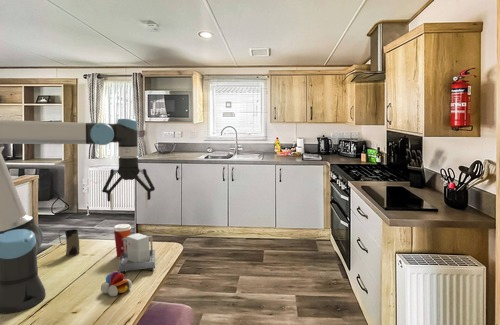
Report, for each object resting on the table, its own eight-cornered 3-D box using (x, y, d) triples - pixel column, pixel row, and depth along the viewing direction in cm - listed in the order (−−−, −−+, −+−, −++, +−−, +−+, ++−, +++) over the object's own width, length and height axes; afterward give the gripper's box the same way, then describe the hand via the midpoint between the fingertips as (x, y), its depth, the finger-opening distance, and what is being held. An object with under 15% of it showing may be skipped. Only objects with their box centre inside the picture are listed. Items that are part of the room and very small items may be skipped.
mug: (80, 251, 161) (78, 226, 160) (79, 255, 156) (78, 229, 154) (61, 253, 158) (59, 228, 156) (59, 257, 153) (58, 232, 151)
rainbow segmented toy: (115, 300, 116) (114, 279, 115) (97, 293, 121) (96, 273, 120) (135, 289, 123) (134, 270, 122) (117, 283, 128) (116, 265, 127)
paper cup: (126, 259, 151) (125, 228, 149) (111, 258, 152) (109, 227, 151) (135, 253, 158) (134, 223, 157) (120, 251, 160) (119, 222, 158)
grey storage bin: (118, 275, 135) (117, 249, 134) (122, 261, 148) (121, 238, 147) (154, 271, 139) (154, 246, 137) (155, 258, 152) (154, 235, 151)
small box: (150, 260, 143) (149, 236, 142) (138, 264, 139) (137, 239, 138) (138, 256, 148) (137, 232, 147) (127, 260, 144) (126, 236, 142)
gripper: (93, 158, 131) (95, 211, 134) (160, 157, 138) (160, 208, 140) (96, 156, 139) (98, 207, 141) (160, 156, 145) (160, 204, 147)
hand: (129, 208), depth 140 cm, fingers open, 13 cm apart
